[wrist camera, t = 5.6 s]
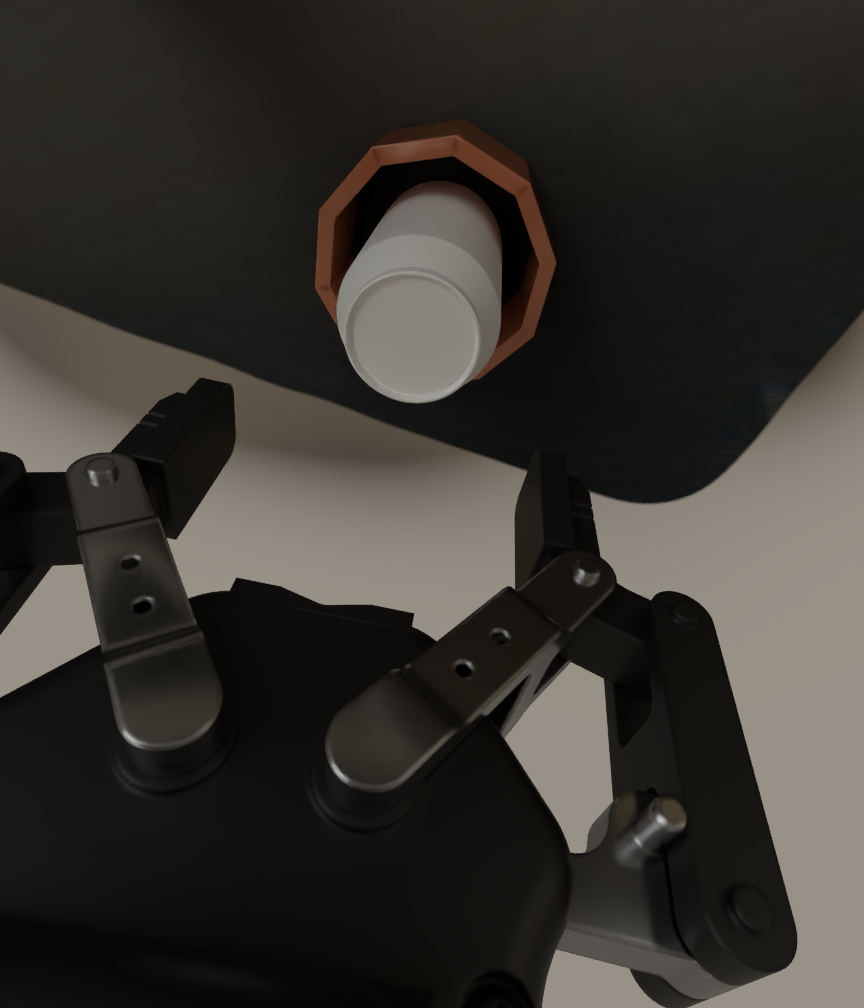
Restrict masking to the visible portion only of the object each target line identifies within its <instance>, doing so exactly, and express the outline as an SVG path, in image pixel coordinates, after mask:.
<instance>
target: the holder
mask: <svg viewBox="0 0 864 1008" xmlns="http://www.w3.org/2000/svg"><path fill="white" fill-rule="evenodd" d="M450 156H454V157H456V158H457V159H459V160H460V161H462V162H463V163H465V164H467V165H468V166H470V167H471V168H473V169H474V170H476V171H477V172H479V173H480V174H482V175H483V176H485V177H486V178H488V179H490V180H491V181H493V182H494V183H496V184H497V185H499V186H500V187H502V188H503V189H505V190H506V191H508V192H509V193H511V194H512V195H514V196H516V199H517V202H518V205H519V207H520V210H521V213H522V216H523V219H524V222H525V225H526V228H527V231H528V233H529V236H530V239H531V242H532V248H531V252H530V255H529V259H528V262H527V266H526V269H525V273H524V276H523V280H522V283H521V287H520V291H519V292H518V293H517V294H516V295H515V296H513V297H512V298H511V299H510V300H509V301H507V302H506V303H505V304H504V305H503V306H502V307H501V326H500V333H499V338H498V342H497V345H496V348H495V350H494V352H493V354H492V356H491V358H490V360H489V361H488V363H487V364H486V365H485V367H484V368H483V369H482V370H481V371H480V373H479V374H477V375H476V376H475V377H474V378H473V379H472V380H475V379H480V378H481V377H482V376H484V375H485V374H486V373H487V372H489V371H490V370H491V369H493V368H494V367H495V366H496V365H498V364H499V363H500V362H502V361H503V360H504V359H505V358H507V357H508V356H509V355H511V354H512V353H513V352H514V351H516V350H517V349H518V348H520V347H521V346H522V345H523V344H525V343H526V342H527V341H529V340H530V339H531V338H532V337H534V334H535V331H536V328H537V324H538V321H539V318H540V315H541V312H542V309H543V305H544V302H545V299H546V296H547V293H548V290H549V286H550V283H551V280H552V277H553V274H554V270H555V267H556V265H557V262H556V257H555V252H554V247H553V243H552V238H551V233H550V230H549V227H548V223H547V220H546V217H545V214H544V211H543V208H542V205H541V202H540V199H539V196H538V193H537V190H536V187H535V183H534V180H533V177H532V174H531V171H530V168H529V165H528V162H527V161H526V160H525V159H523V158H522V157H520V156H519V155H517V154H516V153H514V152H513V151H511V150H510V149H508V148H507V147H505V146H504V145H502V144H501V143H499V142H498V141H496V140H495V139H493V138H492V137H490V136H489V135H487V134H486V133H484V132H483V131H482V130H480V129H479V128H477V127H476V126H474V125H473V124H471V123H470V122H468V121H467V120H466V119H461V120H454V121H448V122H441V123H434V124H427V125H420V126H414V127H407V128H400V129H392V130H390V131H389V132H388V133H387V134H386V135H385V136H384V137H382V138H381V139H380V140H379V141H378V142H377V143H376V144H374V145H373V146H372V147H371V149H370V150H369V151H368V152H367V153H366V155H365V156H364V157H363V158H362V159H361V161H360V162H359V163H358V164H357V165H356V166H355V168H354V169H353V170H352V171H351V172H350V174H349V175H348V176H347V177H346V178H345V179H344V181H343V182H342V183H341V184H340V185H339V187H338V188H337V189H336V190H335V191H334V193H333V194H332V195H331V196H330V197H329V198H328V200H327V201H326V202H325V203H324V204H323V206H322V207H321V208H320V209H319V220H318V241H317V261H316V281H315V289H316V290H317V292H318V294H319V295H320V297H321V299H322V300H323V302H324V304H325V306H326V307H327V309H328V311H329V312H330V314H331V316H332V318H333V319H334V321H335V323H336V324H337V326H338V323H337V299H338V294H339V290H340V286H341V284H342V281H343V279H344V277H345V275H346V273H347V271H348V269H349V268H350V266H351V265H352V263H353V262H354V260H355V259H354V257H353V255H352V253H353V242H354V231H355V220H356V208H357V197H358V193H359V192H360V191H361V189H362V188H363V187H364V186H365V185H366V184H367V183H368V181H369V180H370V179H371V178H372V177H373V176H374V175H375V173H376V172H377V171H378V170H379V169H380V168H381V167H382V166H384V165H392V164H399V163H406V162H414V161H421V160H428V159H436V158H443V157H450Z"/></svg>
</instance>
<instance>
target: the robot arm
mask: <svg viewBox="0 0 864 1008" xmlns="http://www.w3.org/2000/svg"><path fill="white" fill-rule="evenodd" d="M235 439H236V430H235V411H234V391H233V387H232V385H231V384H228V383H224V382H219V381H214V380H210V379H205V378H200V379H198V380H197V381H196V383H195V384H194V385H193V386H192V387H191V388H190V389H189V390H188V392H187V393H186V394H183V393H178V392H176V393H174V394H172V395H170V396H168V397H166V398H164V399H162V400H160V401H159V402H158V403H157V404H156V405H155V406H154V407H153V408H152V409H151V410H150V411H149V414H146V415H145V416H144V417H143V418H142V420H141V421H140V424H137V425H136V426H135V427H134V428H133V429H132V430H131V431H130V432H129V433H128V435H127V436H126V437H125V438H124V439H123V440H122V441H121V442H120V443H119V444H118V445H117V446H116V447H115V448H114V449H113V450H112V451H111V452H110V453H109V452H108V453H96V454H91V455H88V456H85V457H83V458H80V459H78V460H77V461H75V462H74V463H73V464H71V466H69V468H68V469H67V472H30V473H29V472H26V469H25V466H24V463H23V461H22V460H21V459H20V458H19V457H17V456H16V455H13V454H10V453H7V452H0V635H1V633H2V632H3V631H4V629H5V628H6V627H7V625H8V624H9V623H10V621H11V620H12V619H13V617H14V616H15V615H16V613H17V612H18V610H19V609H20V608H21V607H22V605H23V604H24V603H25V601H26V600H27V599H28V597H29V596H30V595H31V593H32V592H33V591H34V589H35V588H36V587H37V586H38V584H39V583H40V582H41V580H42V579H43V577H44V576H45V575H46V574H47V572H48V571H49V570H50V568H51V567H52V566H54V565H74V564H83V567H84V571H85V575H86V580H87V585H88V589H89V594H90V599H91V603H92V608H93V612H94V617H95V622H96V626H97V631H98V635H99V639H100V645H98V646H96V647H95V648H92V649H91V650H89V651H87V652H85V653H83V654H81V655H79V656H77V657H76V658H74V659H72V660H70V661H68V662H66V663H65V664H62V665H61V666H59V667H57V668H55V669H53V670H51V671H49V672H47V673H46V674H44V675H42V676H40V677H38V678H36V679H34V680H33V681H31V682H29V683H27V684H25V685H23V686H21V687H19V688H17V689H16V690H14V691H12V692H10V693H8V694H6V695H4V696H3V697H1V698H0V1008H542V1001H543V994H544V989H545V984H546V979H547V975H548V972H549V968H550V965H551V962H552V959H553V956H554V953H555V951H556V949H557V950H561V951H565V952H569V953H572V954H576V955H580V956H584V957H588V958H592V959H595V960H599V961H603V962H607V963H611V964H615V965H619V966H623V967H627V968H630V971H631V973H632V975H633V977H634V979H635V981H636V982H637V983H638V985H639V986H640V988H641V989H642V990H643V991H644V992H645V994H646V995H647V996H649V997H650V998H651V999H652V1000H653V1001H655V1002H656V1003H658V1004H659V1005H661V1006H663V1007H666V1008H687V1007H690V1006H692V1005H695V1004H697V1003H700V1002H702V1001H705V1000H707V999H709V998H712V997H715V996H717V995H720V994H723V993H725V992H728V991H730V990H733V989H735V988H738V987H740V986H743V985H745V984H748V983H750V982H753V981H755V980H758V979H760V978H763V977H766V976H768V975H771V974H773V973H776V972H778V971H781V970H783V969H785V968H786V967H787V966H788V965H789V964H790V963H791V962H792V960H793V959H794V956H795V953H796V950H797V931H796V926H795V922H794V918H793V915H792V911H791V907H790V903H789V900H788V896H787V893H786V889H785V885H784V881H783V877H782V874H781V870H780V866H779V863H778V859H777V855H776V851H775V848H774V844H773V841H772V837H771V833H770V830H769V826H768V822H767V819H766V815H765V811H764V808H763V803H762V800H761V796H760V792H759V789H758V785H757V782H756V778H755V775H754V770H753V767H752V763H751V759H750V755H749V752H748V748H747V744H746V741H745V737H744V733H743V730H742V726H741V722H740V719H739V715H738V711H737V707H736V704H735V700H734V697H733V693H732V689H731V686H730V682H729V678H728V674H727V671H726V667H725V663H724V659H723V656H722V652H721V648H720V645H719V641H718V637H717V634H716V630H715V626H714V623H713V620H712V618H711V616H710V615H709V613H708V612H707V611H706V610H705V608H704V607H703V606H701V605H700V604H699V603H698V602H697V601H695V600H694V599H692V598H690V597H688V596H686V595H684V594H681V593H678V592H673V591H663V592H660V593H658V594H656V595H655V596H654V597H653V599H652V600H649V599H647V598H645V597H642V596H640V595H638V594H636V593H633V592H632V591H629V590H627V589H626V588H624V587H622V586H620V585H619V584H618V583H617V580H616V575H615V572H614V571H613V569H612V568H611V566H610V565H609V564H608V563H607V562H606V561H605V560H604V559H602V558H601V557H600V551H599V546H598V540H597V534H596V528H595V522H594V520H593V518H594V516H593V510H592V509H591V507H592V504H591V499H590V492H589V491H588V490H587V488H586V487H585V485H584V484H583V483H582V481H581V480H580V479H579V478H575V477H570V476H567V468H566V461H565V457H564V456H562V455H557V454H552V453H548V452H543V451H538V450H537V451H536V452H535V453H534V455H533V458H532V461H531V463H530V466H529V469H528V471H527V475H526V477H525V480H524V482H523V485H522V488H521V491H520V493H519V497H518V500H517V504H516V510H515V590H514V589H513V588H512V587H510V586H508V587H506V588H504V589H502V590H501V591H500V592H498V593H497V594H496V595H495V596H493V597H492V598H491V599H490V600H489V601H487V602H486V603H485V604H483V605H482V606H481V607H480V608H478V609H477V610H476V611H475V612H473V613H472V614H471V615H470V616H468V617H467V618H466V619H465V620H463V621H462V622H461V623H459V624H458V625H457V626H456V627H454V628H453V629H452V630H451V631H449V632H448V633H447V634H446V635H444V636H443V637H442V638H441V639H439V640H438V641H435V640H434V639H433V638H431V637H430V636H429V635H427V634H425V633H424V632H422V631H420V630H418V629H416V628H413V627H412V622H413V617H414V613H409V612H404V611H399V610H394V609H389V608H385V607H380V606H374V605H322V604H319V603H317V602H315V601H312V600H310V599H308V598H305V597H303V596H301V595H299V594H296V593H294V592H292V591H289V590H287V589H285V588H283V587H281V586H276V585H270V584H265V583H261V582H256V581H251V580H246V579H241V578H236V580H235V582H234V584H233V586H232V588H231V590H230V591H218V592H211V593H206V594H201V595H198V596H195V597H191V598H189V599H188V597H187V595H186V592H185V589H184V587H183V583H182V581H181V578H180V575H179V572H178V570H177V567H176V564H175V561H174V558H173V555H172V552H171V550H170V547H169V544H168V541H167V538H171V539H177V538H178V536H179V535H180V533H181V531H182V530H183V529H184V527H185V526H186V524H187V522H188V521H189V519H190V518H191V516H192V515H193V513H194V512H195V510H196V508H197V507H198V506H199V504H200V503H201V501H202V499H203V498H204V497H205V495H206V493H207V492H208V490H209V489H210V487H211V486H212V484H213V483H214V481H215V480H216V478H217V477H218V475H219V474H220V472H221V470H222V469H223V467H224V466H225V464H226V463H227V461H228V460H229V458H230V456H231V454H232V452H233V449H234V445H235ZM570 662H572V663H574V664H576V665H579V666H580V667H582V668H584V669H586V670H588V671H590V672H592V673H594V674H596V675H598V676H600V677H602V678H604V685H605V698H606V712H607V725H608V738H609V752H610V764H611V778H612V790H613V802H612V803H611V804H610V805H609V806H608V808H607V809H606V810H605V811H604V812H603V813H602V814H601V815H600V816H599V817H598V818H597V819H596V820H595V822H594V823H593V824H592V826H591V828H590V830H589V834H588V841H587V850H586V852H585V853H570V851H569V847H568V844H567V841H566V839H565V836H564V834H563V832H562V830H561V827H560V825H559V824H558V822H557V820H556V818H555V817H554V815H553V814H552V812H551V811H550V809H549V807H548V806H547V804H546V803H545V801H544V800H543V798H542V797H541V795H540V793H539V792H538V791H537V789H536V787H535V786H534V784H533V783H532V781H531V779H530V778H529V776H528V775H527V773H526V772H525V770H524V769H523V767H522V765H521V764H520V762H519V761H518V759H517V758H516V756H515V755H514V753H513V751H512V750H511V748H510V747H509V745H508V744H507V742H506V741H505V739H504V738H505V737H506V735H507V734H508V733H509V732H510V731H511V730H512V728H513V727H514V726H515V724H516V723H517V722H518V720H519V719H520V718H521V716H522V715H523V713H524V712H525V711H526V710H527V708H528V707H529V706H530V705H531V704H532V702H534V700H535V699H536V698H537V697H538V696H539V695H540V694H541V693H542V692H543V691H544V690H545V689H546V688H547V687H548V686H549V685H550V683H551V682H552V681H553V680H554V679H555V678H556V677H557V676H558V675H559V674H560V673H561V672H562V671H563V670H564V669H565V668H566V667H567V665H568V664H569V663H570Z"/></svg>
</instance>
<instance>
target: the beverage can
mask: <svg viewBox="0 0 864 1008" xmlns="http://www.w3.org/2000/svg"><path fill="white" fill-rule="evenodd" d="M501 292H502V241H501V234H500V229H499V226H498V223H497V221H496V218H495V216H494V214H493V212H492V211H491V209H490V208H489V206H488V205H487V204H486V202H485V201H484V200H483V199H482V198H481V197H480V196H479V195H478V194H476V193H475V192H474V191H472V190H471V189H469V188H467V187H465V186H463V185H461V184H458V183H454V182H450V181H429V182H425V183H421V184H419V185H416V186H414V187H412V188H410V189H409V190H407V191H406V192H404V193H403V194H402V195H400V196H399V197H398V198H397V199H396V200H395V202H394V203H393V204H392V205H391V206H390V208H389V209H388V211H387V212H386V213H385V215H384V216H383V218H382V219H381V221H380V222H379V224H378V225H377V227H376V228H375V230H374V231H373V233H372V234H371V236H370V237H369V239H368V240H367V242H366V243H365V245H364V246H363V248H362V249H361V251H360V252H359V254H358V256H357V257H356V259H355V260H354V262H353V263H352V265H351V266H350V268H349V269H348V271H347V273H346V275H345V277H344V279H343V281H342V284H341V286H340V290H339V294H338V299H337V323H338V328H339V332H340V335H341V338H342V341H343V343H344V346H345V348H346V351H347V354H348V357H349V359H350V362H351V364H352V365H353V367H354V369H355V370H356V372H357V373H358V374H359V376H360V377H361V378H362V379H363V380H364V381H365V382H366V383H367V384H368V385H369V386H370V387H372V388H373V389H374V390H376V391H377V392H379V393H381V394H383V395H385V396H387V397H389V398H392V399H395V400H398V401H402V402H408V403H426V402H432V401H436V400H439V399H442V398H444V397H446V396H448V395H450V394H452V393H453V392H455V391H456V390H458V389H459V388H460V387H461V386H463V385H464V384H466V383H468V382H469V381H470V380H472V379H473V378H474V377H475V376H476V375H477V374H479V373H480V371H481V370H482V369H483V368H484V367H485V365H486V364H487V363H488V361H489V360H490V358H491V356H492V354H493V352H494V350H495V348H496V345H497V342H498V338H499V333H500V326H501Z"/></svg>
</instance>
